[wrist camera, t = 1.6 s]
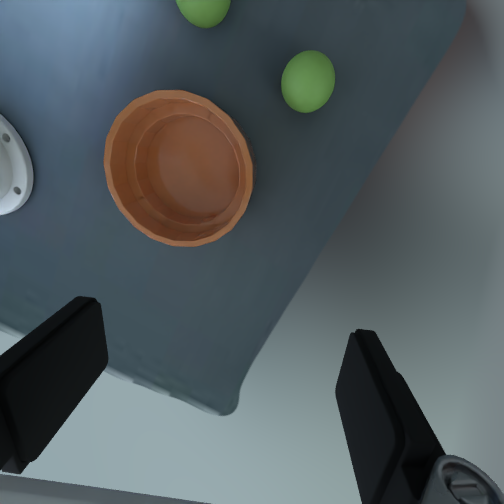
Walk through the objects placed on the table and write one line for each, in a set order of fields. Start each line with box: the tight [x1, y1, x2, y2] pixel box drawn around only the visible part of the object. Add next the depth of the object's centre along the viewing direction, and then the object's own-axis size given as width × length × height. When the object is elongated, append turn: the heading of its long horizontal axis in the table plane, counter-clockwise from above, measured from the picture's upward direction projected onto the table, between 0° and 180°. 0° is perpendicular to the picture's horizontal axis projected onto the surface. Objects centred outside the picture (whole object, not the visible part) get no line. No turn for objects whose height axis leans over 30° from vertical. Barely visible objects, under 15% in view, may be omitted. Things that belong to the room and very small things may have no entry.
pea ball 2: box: [281, 50, 335, 113], centre depth 24 cm, size 5×5×5 cm
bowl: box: [104, 90, 256, 247], centre depth 27 cm, size 13×13×6 cm
